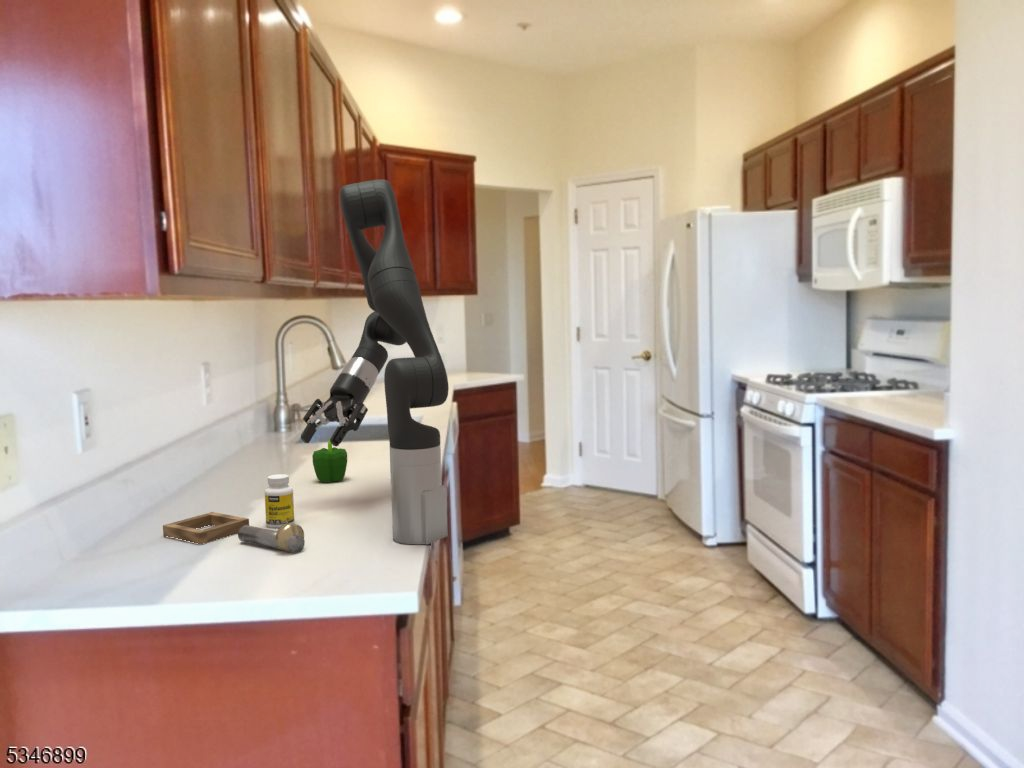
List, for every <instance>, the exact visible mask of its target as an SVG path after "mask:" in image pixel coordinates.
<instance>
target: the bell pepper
mask: <svg viewBox="0 0 1024 768" xmlns="http://www.w3.org/2000/svg"><path fill="white" fill-rule="evenodd" d="M311 459H312V466H313V469H314V473H315V476H316V478H317V480H318V481H319V482H321V483H332V482H333V483H334V482H335V483H336V482H340V481H343V480H344V478H345V476H346V471H347V467H348V452H347V449H346V448H338V447H337V446H333V445H332V443H331V442H330V439H328V440H327V448H325V447H322V448H320V449H318V450H314V451H313V453H312V457H311Z"/></svg>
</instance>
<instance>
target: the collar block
mask: <svg viewBox="0 0 1024 768" xmlns="http://www.w3.org/2000/svg"><path fill="white" fill-rule="evenodd" d="M208 525H211V526H208ZM212 525H215V526H212ZM244 525H248V526H250V519H249V518H247V517H242V516H235V515H232V514H231V515H230V514H224V513H220V512H215V511H211V512H210V511H209V512H208V513H207V512H206V513H204V514H200V515H195V516H192V517H188V518H185V519H182V520H177V521H174V522H171V523H167V524H163V525H162V532H163V533H162V534H163V535H162V536H168V537H174V538H178V539H182V540H186V541H190V542H194V543H198V544H202V545H204V544H203V543H205V544H208V543H207V542H209V543H211V542H210V541H212V542H214V541H213V540H215V541H217V540H216V539H218V540H221V539H220V538H222V539H224V538H223V537H225V538H228V537H230V535H231V536H234V535H238V532H239V530H240V528H241V527H242V526H244ZM204 526H208V528H207V527H206V528H205V527H204ZM201 527H204V529H203V528H201ZM196 528H201V529H196ZM227 536H228V537H227ZM194 543H193V544H194ZM198 544H197V545H198Z"/></svg>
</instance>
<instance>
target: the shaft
mask: <svg viewBox="0 0 1024 768" xmlns="http://www.w3.org/2000/svg"><path fill="white" fill-rule="evenodd" d="M237 537H238V539H239V541H240V542H243V543H249V544H253V545H257V546H262V547H267V548H271V549H272V548H273V549H276V550H280V551H284V552H289V553H295V554H299V553H300V552H302V551H303V549H304V548H305V541H306V539H305V531H304V529H303V527H302V526H301V525H299V524H296V523H293V524H291V523H285V524H283V525H282V526H281V527H280V528H278V529H277V530H273V529H268V528H263V527H258V526H254V525H253V526H252V525H249V526H248V525H244V526H242V527H241V528H240V530H239V532H238V534H237ZM298 552H299V553H298Z"/></svg>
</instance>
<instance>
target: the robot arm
mask: <svg viewBox="0 0 1024 768" xmlns="http://www.w3.org/2000/svg"><path fill="white" fill-rule="evenodd" d="M339 202H340V208H341V212H342V216H343V220H344V221H343V222H344V223H345V224H344V225H345V227H346V231H347V234H348V237H349V241H350V243H351V247H352V250H353V252H354V255H355V258H356V261H357V264H358V267H359V270H360V274H361V276H362V281H363V286H364V292H365V297H366V301H367V304H368V307H369V308H370V309H371V311H373V312H371V313H370V314H369V315H368V316H366V319H365V323H364V325H363V331H362V334H361V338H360V339H359V344H358V347H357V348H356V349H355V351H354V353H353V354H352V356H351V358H350V359H349V360H348V361H347V362H346V364H344V367H342V370H341V371H340V373H339V375H338V376H337V378H336V379H335V381H334V383H333V384H332V386H331V388H329V397H328V399H327V400H325V401H322V400H321V399H320V398H316V399H315V400H314V402H313V403H312V405H311V406H310V407H309V409H308V410H307V411H306V413H305V415H304V416H303V418H302V420H303V422H305V423H306V424H307V425H306V427H305V428H304V430H303V431H302V432H301V434H300V439H301V441H302V442H303V443H304V444H309V443H310V442H311V440H312V439H313V437H314V436H315V434H316V432H317V430H318V429H319V428H320V427H322V426H326V425H328V424H329V423H333V422H334V423H335V422H337V423H339V426H337V427H336V429H335V431H334V432H333V433H332V435H331V437H330V438H329V440H330V442H331V443H332V447H339V445H340V444H341V443H342V441H343V440H344V439H345V437H346V435H347V434H349V433H350V432H351V431H353V432H357V431H358V429H360V427H361V424H362V422H363V420H364V419H365V417H366V416H367V415H366V414H367V412H368V411H369V409H368V408H367V407H366V404H364V402H365V401H366V398H367V397H368V395H369V394H370V392H371V390H372V389H373V387H374V385H375V383H376V381H377V378H378V375H380V373H381V371H382V369H383V368H384V366H385V364H386V366H385V368H384V375H383V381H384V382H383V383H384V394H385V395H384V396H385V403H386V407H385V408H386V417H387V418H386V419H387V429H388V430H387V431H388V439H389V465H390V466H389V467H390V471H389V472H390V493H391V495H390V496H391V519H392V539H393V541H395V542H396V543H400V544H403V545H404V544H407V545H419V544H420V545H421V544H422V545H429V544H433V543H434V542H438V541H439V540H441V539H444V538H446V537H448V536H449V535H448V533H449V532H448V507H447V506H448V502H447V501H448V500H447V498H448V497H447V496H448V495H447V486H446V485H444V484H442V455H441V454H442V452H441V450H442V449H441V432H440V430H439V429H438V428H437V427H435V426H432V425H428V424H424V423H420V422H418V421H416V419H414V418H413V417H412V415H411V409H422V408H432V407H433V408H434V407H438V406H441V405H443V404H444V403H446V402H447V400H448V397H449V391H450V390H449V386H450V385H449V380H448V374H447V370H446V367H445V364H444V361H443V359H442V358H443V357H442V356H441V353H440V351H439V348H438V345H437V343H436V340H435V337H434V335H433V332H432V330H431V328H430V323H429V321H428V318H427V314H426V310H425V307H424V302H423V299H422V295H421V290H420V287H419V282H418V280H417V275H416V272H415V269H414V266H413V264H412V260H411V257H410V254H409V251H408V247H407V244H406V240H405V236H404V231H403V227H402V226H403V225H402V221H401V216H400V213H399V212H400V210H399V208H398V207H399V206H398V203H397V199H396V195H395V191H394V189H393V187H392V185H391V183H390V182H389V181H388V180H387V179H383V178H382V179H372V180H366V181H360V182H356V183H350V184H346V185H343V186H342V187H341V188H340V191H339ZM383 226H384V230H383V231H384V232H383V236H382V239H381V243H380V245H379V247H378V249H377V250H376V249H375V248H374V247H373V246H372V244H371V243H369V241H368V240H367V238H366V236H365V233H364V231H363V230H365V229H371V228H377V227H383ZM379 342H381V343H385V344H388V345H393V346H403V345H404V344H407V345H408V347H409V348H410V350H411V351H412V355H413V357H412V356H411V357H398V358H392V359H389V360H388V358H389V354H388V353H389V352H388V350H387V348H386V347H385V346H383V345H382V344H381V343H379ZM387 360H388V361H387ZM322 415H324V417H325V418H324V417H323V416H322ZM311 416H312V417H311ZM318 420H319V421H318ZM316 421H318V422H316Z"/></svg>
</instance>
